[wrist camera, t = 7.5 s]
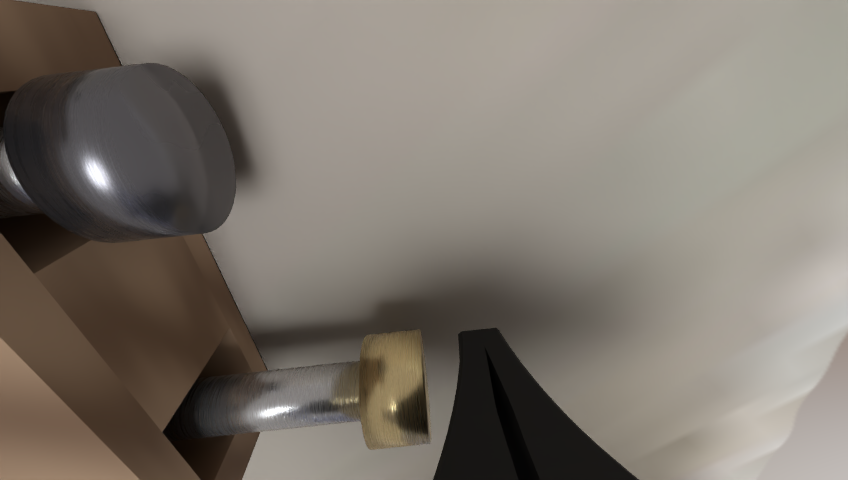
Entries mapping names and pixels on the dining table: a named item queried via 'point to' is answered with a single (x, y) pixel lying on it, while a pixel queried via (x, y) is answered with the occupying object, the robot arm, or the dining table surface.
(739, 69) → the dining table surface
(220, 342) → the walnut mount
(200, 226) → the black knob
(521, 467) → the robot arm
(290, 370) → the brass knob
